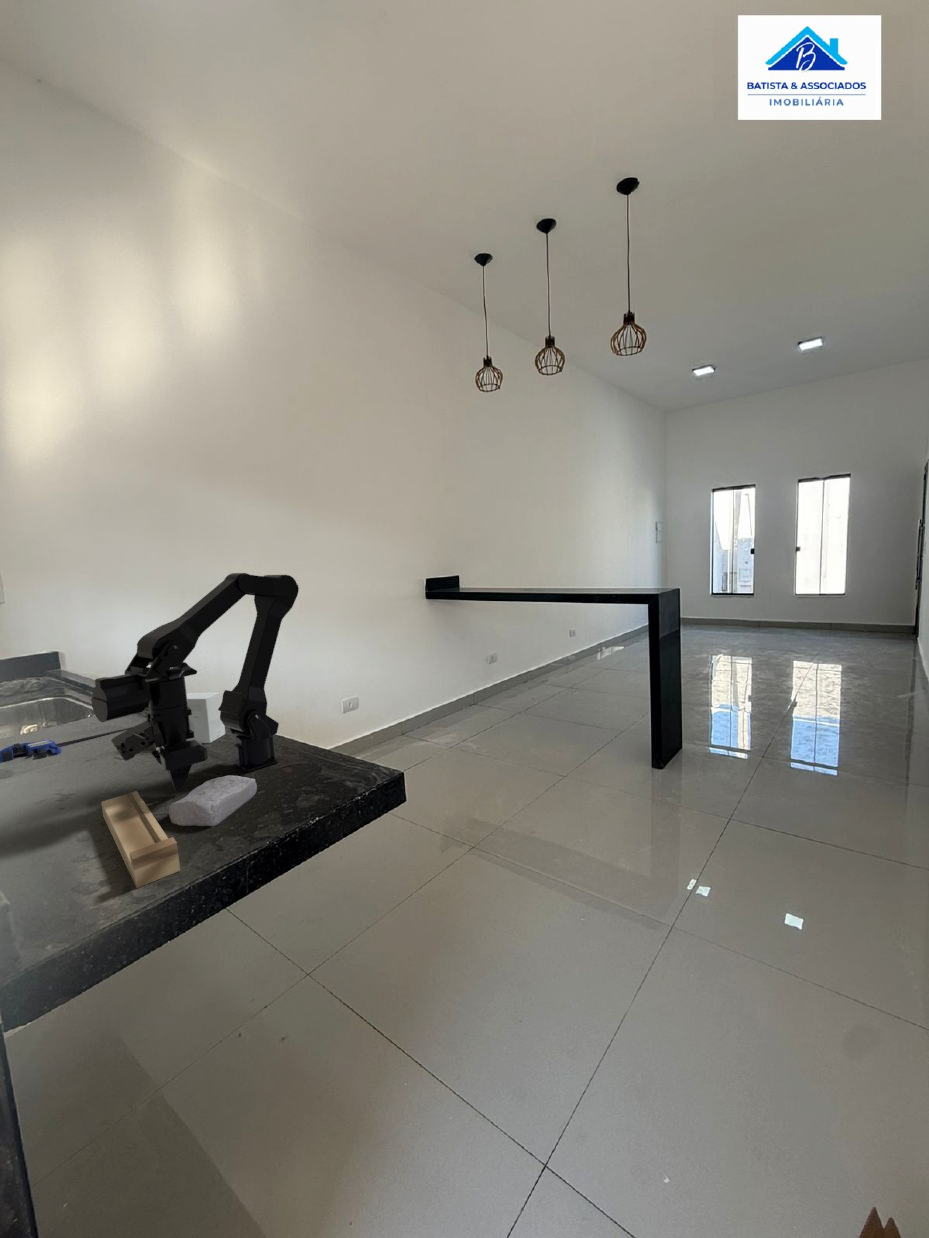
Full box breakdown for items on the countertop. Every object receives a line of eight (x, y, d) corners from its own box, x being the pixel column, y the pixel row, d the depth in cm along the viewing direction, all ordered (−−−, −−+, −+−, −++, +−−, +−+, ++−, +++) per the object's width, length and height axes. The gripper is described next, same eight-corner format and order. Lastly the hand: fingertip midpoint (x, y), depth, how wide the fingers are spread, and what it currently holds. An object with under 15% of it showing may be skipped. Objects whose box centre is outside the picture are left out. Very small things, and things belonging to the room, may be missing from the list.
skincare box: (226, 733, 120) (222, 691, 119) (210, 743, 114) (205, 699, 113) (186, 733, 122) (181, 691, 120) (167, 743, 115) (162, 699, 114)
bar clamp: (3, 758, 104) (-6, 748, 110) (4, 770, 104) (-5, 758, 111) (171, 720, 129) (156, 713, 135) (172, 729, 129) (157, 722, 135)
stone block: (165, 835, 80) (218, 828, 78) (157, 807, 79) (210, 798, 77) (216, 801, 91) (263, 794, 89) (209, 776, 91) (257, 768, 89)
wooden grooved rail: (138, 804, 86) (135, 782, 86) (180, 870, 67) (176, 842, 67) (103, 815, 83) (99, 793, 82) (136, 888, 64) (132, 859, 63)
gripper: (104, 704, 88) (115, 788, 90) (122, 729, 75) (135, 827, 77) (175, 691, 96) (184, 769, 98) (203, 711, 82) (213, 801, 84)
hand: (178, 789), depth 89 cm, fingers closed
